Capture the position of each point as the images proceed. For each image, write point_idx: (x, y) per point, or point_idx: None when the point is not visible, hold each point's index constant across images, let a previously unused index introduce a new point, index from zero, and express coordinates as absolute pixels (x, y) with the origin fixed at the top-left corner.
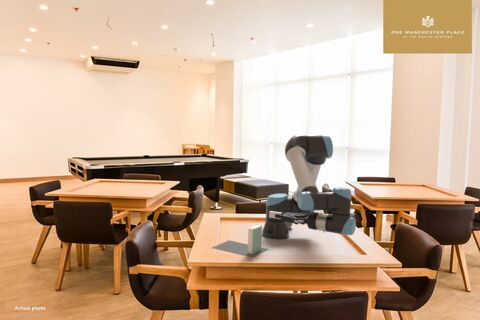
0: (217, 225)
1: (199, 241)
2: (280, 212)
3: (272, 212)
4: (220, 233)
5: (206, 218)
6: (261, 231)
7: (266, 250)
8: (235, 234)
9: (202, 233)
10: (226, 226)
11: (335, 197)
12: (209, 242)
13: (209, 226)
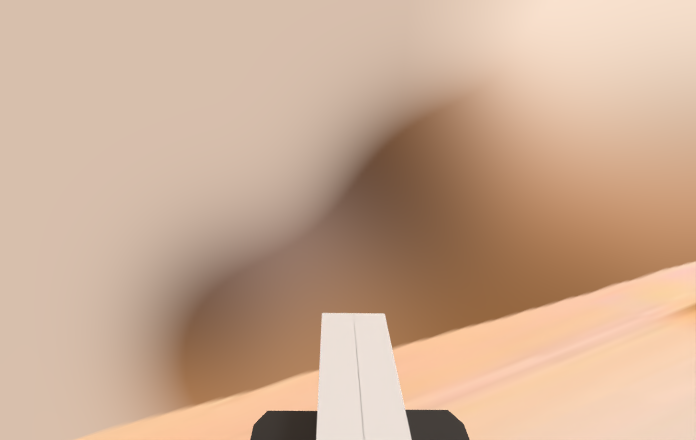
0: (620, 323)
1: (316, 373)
2: (405, 425)
3: (321, 350)
4: (529, 372)
5: (644, 277)
6: None
7: None
8: (602, 417)
9: (445, 337)
10: (659, 345)
11: None
12: None
13: (567, 315)
